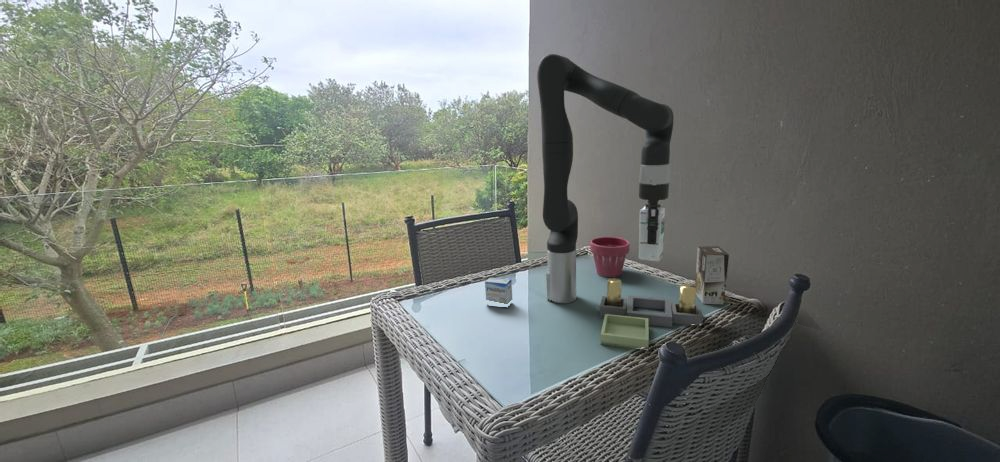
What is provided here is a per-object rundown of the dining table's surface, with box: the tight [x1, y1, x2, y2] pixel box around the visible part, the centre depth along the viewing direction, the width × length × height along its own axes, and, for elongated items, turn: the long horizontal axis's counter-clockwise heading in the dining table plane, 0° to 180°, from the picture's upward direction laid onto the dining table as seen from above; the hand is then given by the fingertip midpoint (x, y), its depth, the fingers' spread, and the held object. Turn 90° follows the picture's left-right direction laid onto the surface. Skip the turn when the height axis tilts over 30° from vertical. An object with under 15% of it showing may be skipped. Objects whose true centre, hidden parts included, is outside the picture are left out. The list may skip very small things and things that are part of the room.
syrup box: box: [638, 205, 666, 262], centre depth 107 cm, size 6×6×14 cm
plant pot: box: [589, 236, 630, 278], centre depth 145 cm, size 14×14×13 cm
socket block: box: [599, 294, 704, 328], centre depth 113 cm, size 28×12×3 cm, turn 69°
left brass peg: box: [606, 277, 622, 307], centre depth 115 cm, size 4×4×10 cm
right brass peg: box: [678, 283, 697, 314], centre depth 108 cm, size 4×4×10 cm
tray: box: [600, 314, 650, 350], centre depth 102 cm, size 12×12×3 cm
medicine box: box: [484, 277, 513, 304], centre depth 125 cm, size 8×4×9 cm, turn 68°
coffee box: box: [694, 245, 730, 305], centre depth 119 cm, size 9×6×16 cm
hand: (651, 240), depth 107 cm, fingers closed on syrup box, 6 cm apart
